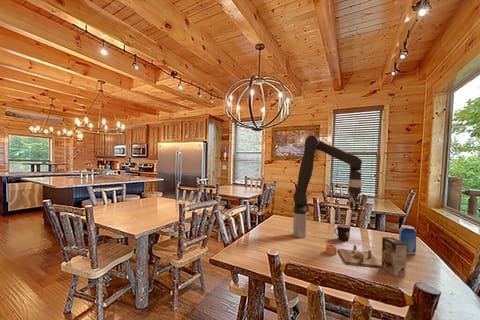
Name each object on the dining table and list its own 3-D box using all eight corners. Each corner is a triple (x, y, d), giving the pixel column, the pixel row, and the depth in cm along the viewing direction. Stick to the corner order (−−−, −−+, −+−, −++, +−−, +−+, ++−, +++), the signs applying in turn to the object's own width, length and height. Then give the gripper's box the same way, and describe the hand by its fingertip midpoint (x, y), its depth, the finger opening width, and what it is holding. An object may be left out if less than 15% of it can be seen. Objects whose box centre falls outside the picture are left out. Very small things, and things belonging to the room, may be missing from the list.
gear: (327, 254, 129) (327, 246, 129) (325, 250, 134) (325, 243, 134) (336, 255, 128) (337, 247, 128) (334, 251, 133) (334, 244, 133)
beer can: (412, 250, 137) (412, 225, 137) (418, 255, 129) (419, 229, 129) (396, 248, 140) (397, 224, 140) (401, 253, 132) (402, 227, 132)
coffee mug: (347, 237, 158) (347, 224, 158) (352, 242, 149) (352, 228, 149) (330, 237, 159) (331, 223, 159) (334, 241, 150) (335, 227, 150)
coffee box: (381, 266, 115) (381, 236, 115) (392, 266, 115) (392, 236, 115) (394, 276, 106) (395, 243, 106) (406, 275, 106) (407, 243, 106)
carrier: (345, 263, 117) (346, 254, 117) (337, 250, 135) (337, 242, 135) (382, 268, 113) (382, 258, 113) (369, 253, 131) (369, 245, 131)
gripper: (345, 184, 151) (344, 207, 152) (352, 187, 137) (351, 212, 138) (357, 185, 150) (356, 208, 150) (365, 187, 136) (363, 213, 136)
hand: (353, 210), depth 144 cm, fingers open, 8 cm apart
